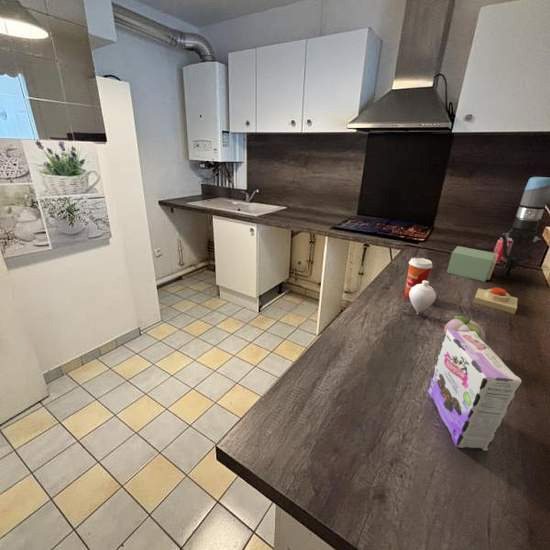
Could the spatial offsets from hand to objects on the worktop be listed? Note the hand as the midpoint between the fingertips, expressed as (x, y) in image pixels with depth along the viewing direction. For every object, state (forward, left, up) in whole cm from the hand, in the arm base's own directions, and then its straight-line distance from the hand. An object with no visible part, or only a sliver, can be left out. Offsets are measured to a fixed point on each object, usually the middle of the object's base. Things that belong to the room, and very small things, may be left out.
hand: (507, 274), depth 122 cm
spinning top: (+21, +55, -3) cm, 59 cm away
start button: (+2, +27, 0) cm, 27 cm away
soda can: (+4, -29, -3) cm, 29 cm away
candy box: (+4, +93, -3) cm, 93 cm away
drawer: (+10, 0, -2) cm, 10 cm away
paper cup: (+26, +42, -3) cm, 49 cm away
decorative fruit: (+7, +67, -3) cm, 67 cm away
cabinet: (+14, 0, -3) cm, 14 cm away
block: (+2, +27, -3) cm, 27 cm away
